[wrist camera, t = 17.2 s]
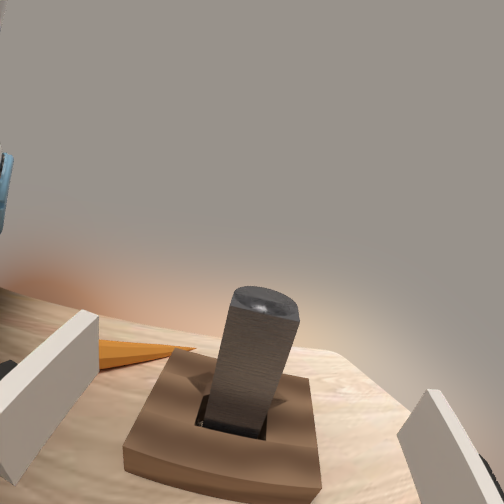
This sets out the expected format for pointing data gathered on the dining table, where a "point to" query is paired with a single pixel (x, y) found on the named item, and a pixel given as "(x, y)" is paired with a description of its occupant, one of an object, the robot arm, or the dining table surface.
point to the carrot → (131, 352)
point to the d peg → (250, 360)
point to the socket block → (224, 440)
